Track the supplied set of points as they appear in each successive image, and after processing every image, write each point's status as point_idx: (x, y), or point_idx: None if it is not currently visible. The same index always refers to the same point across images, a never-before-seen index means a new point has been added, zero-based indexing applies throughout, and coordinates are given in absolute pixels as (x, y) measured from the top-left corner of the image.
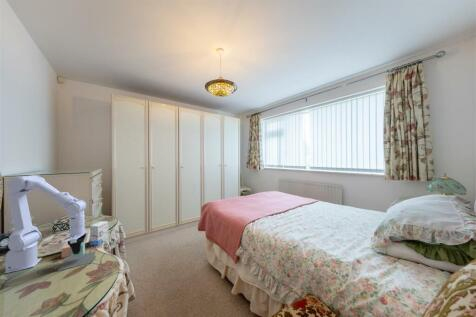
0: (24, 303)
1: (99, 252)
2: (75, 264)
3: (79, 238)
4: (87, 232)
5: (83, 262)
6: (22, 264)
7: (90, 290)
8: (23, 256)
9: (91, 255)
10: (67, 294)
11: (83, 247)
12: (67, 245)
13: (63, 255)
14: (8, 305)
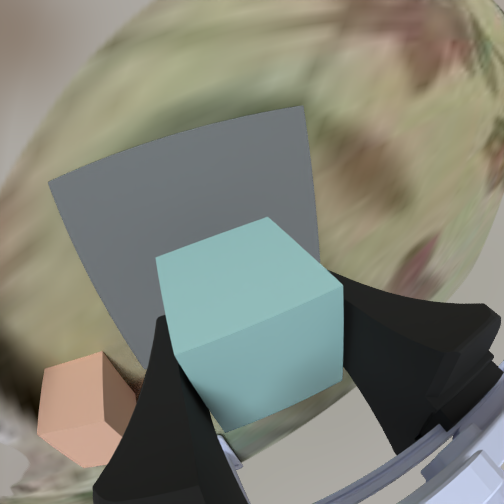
0: (469, 249)
1: (72, 120)
2: (284, 230)
3: (221, 470)
4: (462, 495)
5: (273, 176)
6: (234, 467)
7: (497, 58)
8: (246, 498)
9: (137, 171)
10: (493, 130)
11: (271, 273)
12: (89, 454)
13: (131, 401)
14: (452, 289)
